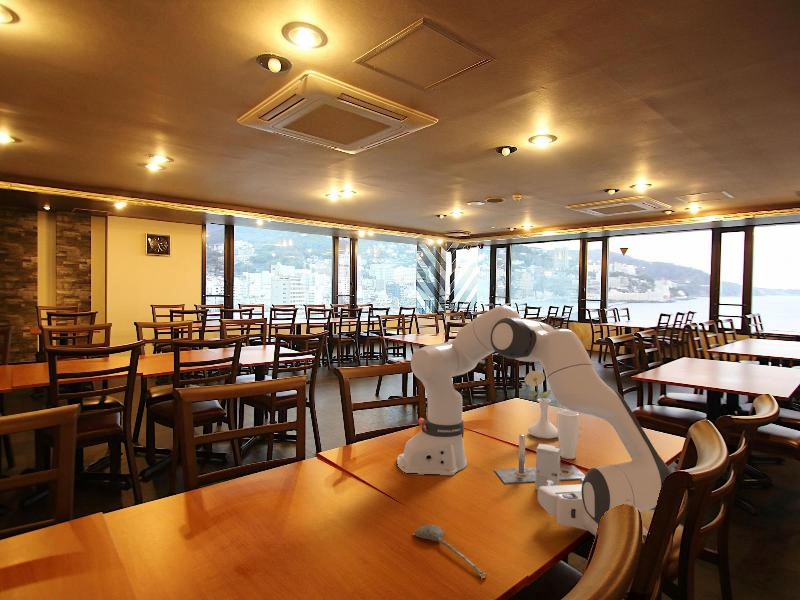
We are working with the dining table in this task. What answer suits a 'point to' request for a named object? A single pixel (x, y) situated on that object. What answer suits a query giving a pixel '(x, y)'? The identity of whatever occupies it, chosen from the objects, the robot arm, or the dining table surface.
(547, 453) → the skincare box
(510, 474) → the bolt-hole strip
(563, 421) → the drinking glass
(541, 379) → the flower in vase
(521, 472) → the steel pin
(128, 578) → the dining table surface
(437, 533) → the soupspoon
